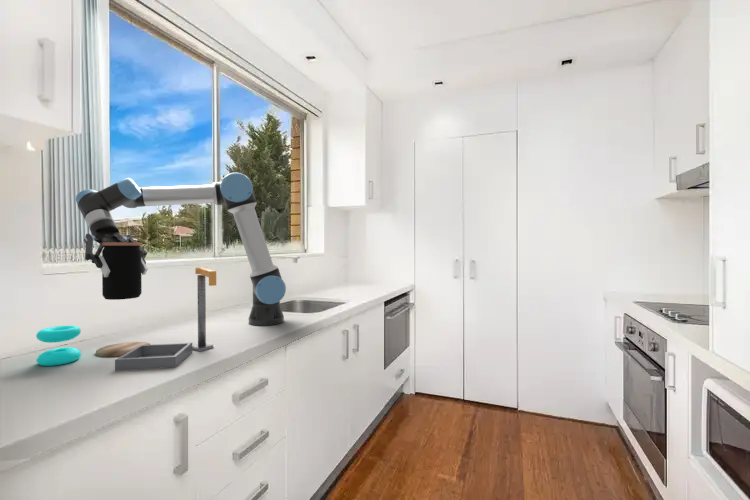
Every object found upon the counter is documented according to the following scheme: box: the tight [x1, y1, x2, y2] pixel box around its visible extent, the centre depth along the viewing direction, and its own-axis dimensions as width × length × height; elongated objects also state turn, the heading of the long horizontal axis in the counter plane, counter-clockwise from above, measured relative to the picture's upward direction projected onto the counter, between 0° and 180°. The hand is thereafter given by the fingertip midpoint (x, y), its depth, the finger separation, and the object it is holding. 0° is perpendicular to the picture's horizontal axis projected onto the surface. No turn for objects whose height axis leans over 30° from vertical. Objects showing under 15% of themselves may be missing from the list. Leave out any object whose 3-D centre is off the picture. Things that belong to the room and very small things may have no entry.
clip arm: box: [194, 266, 217, 287], centre depth 117 cm, size 22×4×4 cm, turn 34°
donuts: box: [36, 325, 82, 367], centre depth 111 cm, size 10×10×10 cm
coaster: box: [95, 341, 152, 358], centre depth 123 cm, size 15×15×1 cm
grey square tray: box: [114, 342, 193, 372], centre depth 112 cm, size 15×15×3 cm
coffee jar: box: [101, 242, 143, 301], centre depth 122 cm, size 11×11×18 cm
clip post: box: [192, 274, 214, 352], centre depth 125 cm, size 5×5×24 cm
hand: (127, 273), depth 121 cm, fingers closed on coffee jar, 11 cm apart
